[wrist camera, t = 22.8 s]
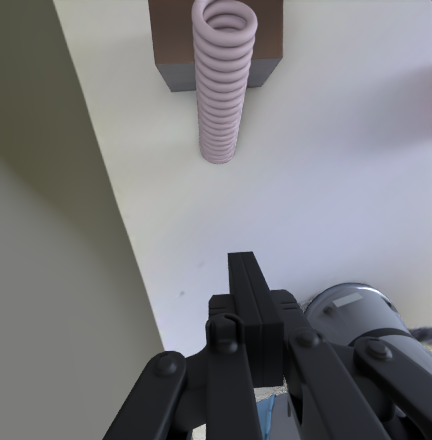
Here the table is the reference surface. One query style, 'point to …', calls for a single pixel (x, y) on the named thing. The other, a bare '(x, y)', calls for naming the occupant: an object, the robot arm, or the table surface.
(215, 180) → the table surface
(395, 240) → the table surface
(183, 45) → the walnut block
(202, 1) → the coil
